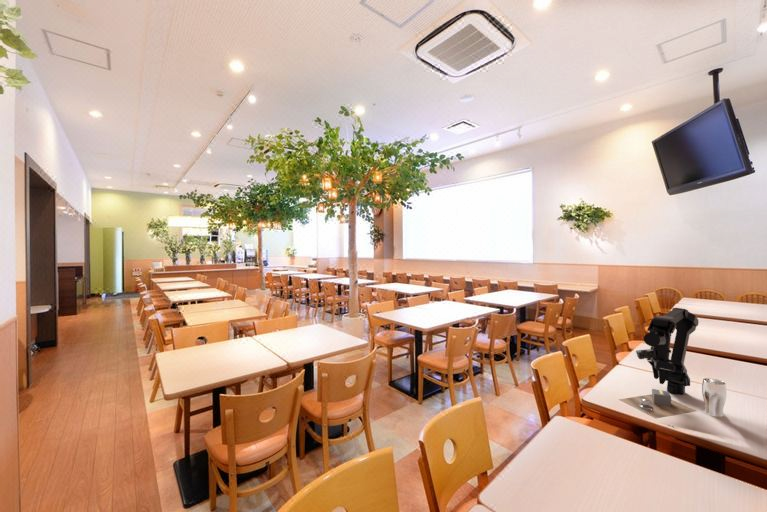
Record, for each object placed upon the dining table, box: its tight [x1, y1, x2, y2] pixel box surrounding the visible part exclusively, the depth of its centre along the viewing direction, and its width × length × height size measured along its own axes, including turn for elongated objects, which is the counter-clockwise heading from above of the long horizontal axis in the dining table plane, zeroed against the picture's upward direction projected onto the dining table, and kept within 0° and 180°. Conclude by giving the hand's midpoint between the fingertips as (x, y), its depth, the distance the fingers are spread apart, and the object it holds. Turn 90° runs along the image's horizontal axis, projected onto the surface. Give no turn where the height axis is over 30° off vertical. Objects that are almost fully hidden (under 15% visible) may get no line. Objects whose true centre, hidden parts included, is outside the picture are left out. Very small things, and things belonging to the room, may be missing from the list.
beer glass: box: [701, 377, 727, 418], centre depth 130 cm, size 7×7×15 cm
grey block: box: [651, 388, 672, 407], centre depth 140 cm, size 6×6×5 cm
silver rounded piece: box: [638, 398, 653, 410], centre depth 137 cm, size 5×5×3 cm
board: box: [618, 393, 697, 419], centre depth 138 cm, size 22×16×2 cm
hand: (658, 381), depth 140 cm, fingers open, 9 cm apart
